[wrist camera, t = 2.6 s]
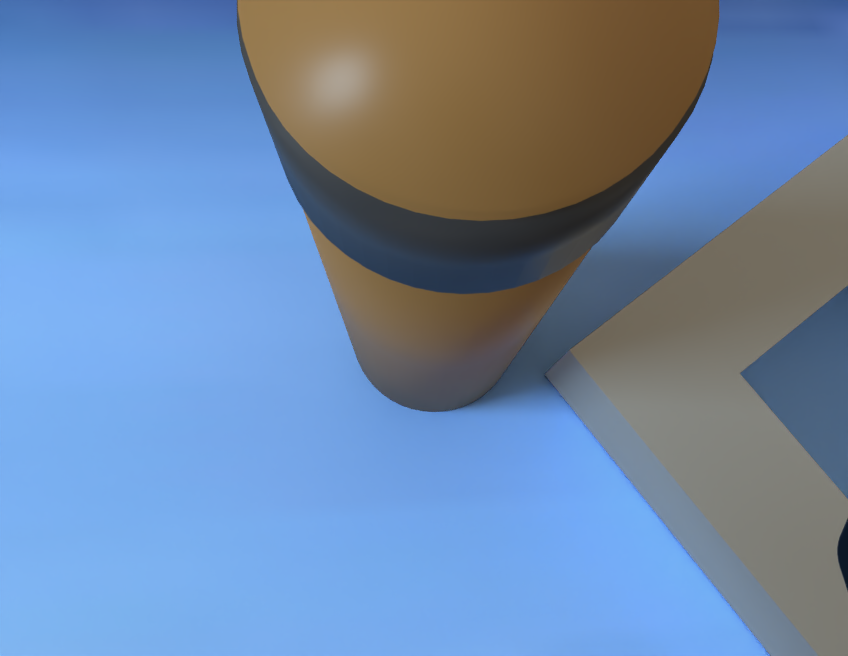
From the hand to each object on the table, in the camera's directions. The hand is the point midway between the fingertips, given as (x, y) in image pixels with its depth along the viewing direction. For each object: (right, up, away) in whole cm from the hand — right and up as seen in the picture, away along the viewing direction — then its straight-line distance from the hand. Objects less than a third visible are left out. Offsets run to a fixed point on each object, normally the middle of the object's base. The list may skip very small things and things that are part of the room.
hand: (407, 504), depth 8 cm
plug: (0, +2, +11) cm, 12 cm away
